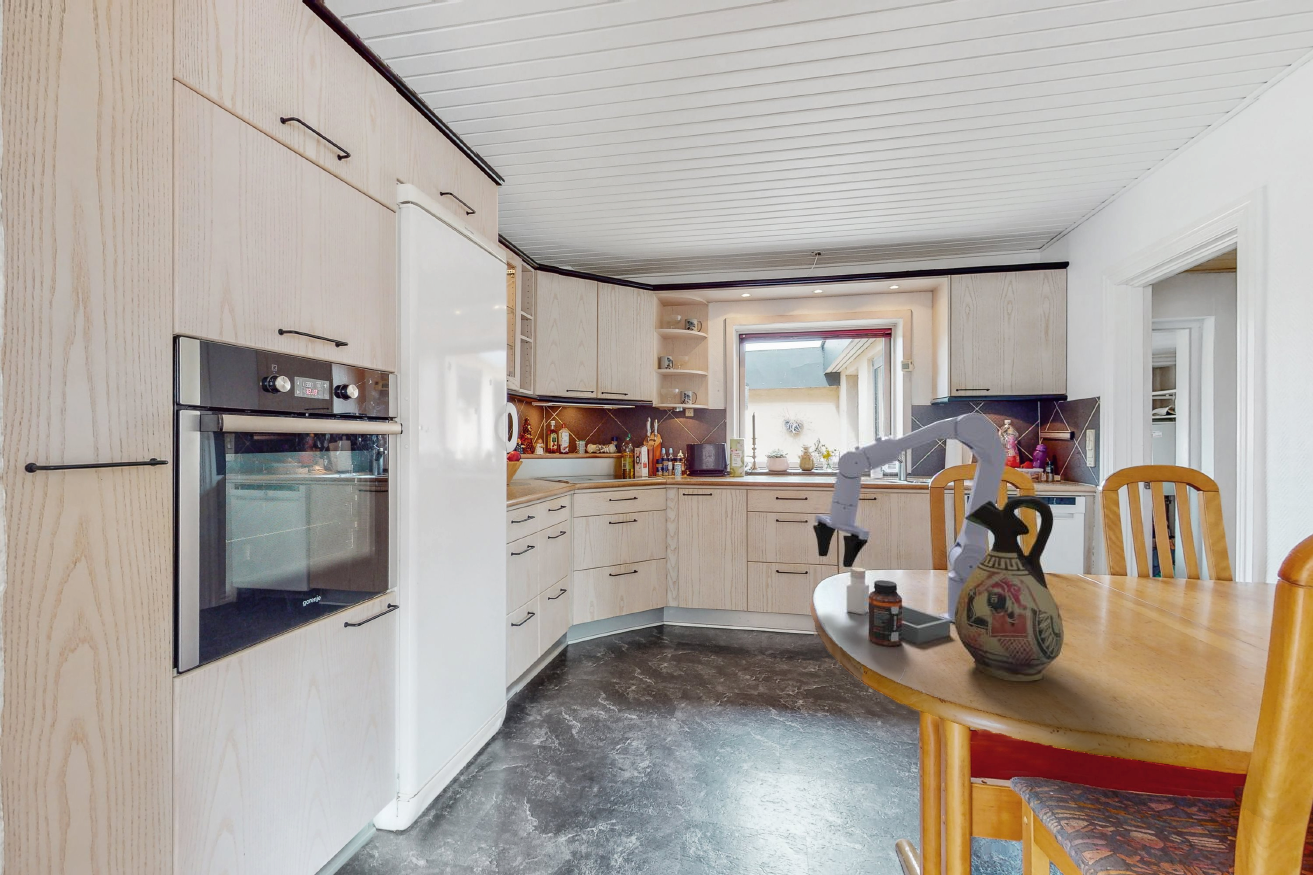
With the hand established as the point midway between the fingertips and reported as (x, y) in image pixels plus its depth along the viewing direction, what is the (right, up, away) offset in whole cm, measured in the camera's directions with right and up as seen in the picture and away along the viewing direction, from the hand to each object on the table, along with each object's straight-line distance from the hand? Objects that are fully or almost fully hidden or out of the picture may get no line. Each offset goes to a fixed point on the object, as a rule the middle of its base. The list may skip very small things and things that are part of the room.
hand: (834, 561), depth 127 cm
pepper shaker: (+4, -11, -4) cm, 12 cm away
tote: (+10, -11, -16) cm, 22 cm away
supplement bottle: (+3, -11, -21) cm, 24 cm away
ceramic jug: (+18, -11, -35) cm, 41 cm away
